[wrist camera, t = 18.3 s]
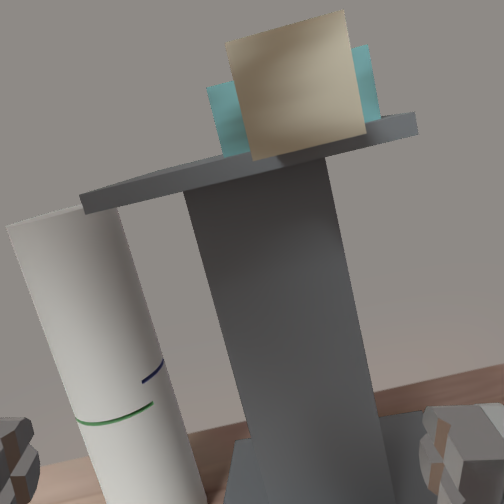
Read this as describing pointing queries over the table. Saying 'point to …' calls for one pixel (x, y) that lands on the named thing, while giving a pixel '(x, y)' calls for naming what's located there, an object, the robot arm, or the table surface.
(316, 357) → the stand
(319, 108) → the tan and teal block
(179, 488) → the cylindrical container
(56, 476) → the table surface
